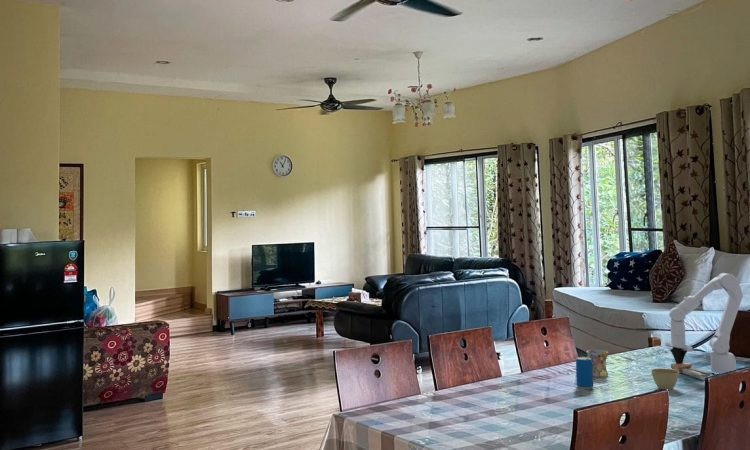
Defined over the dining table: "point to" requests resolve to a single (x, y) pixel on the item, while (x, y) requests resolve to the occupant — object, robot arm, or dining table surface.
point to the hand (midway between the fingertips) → (679, 365)
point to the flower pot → (665, 378)
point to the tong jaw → (692, 373)
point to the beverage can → (584, 372)
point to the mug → (598, 362)
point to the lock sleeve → (676, 366)
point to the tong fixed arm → (693, 370)
